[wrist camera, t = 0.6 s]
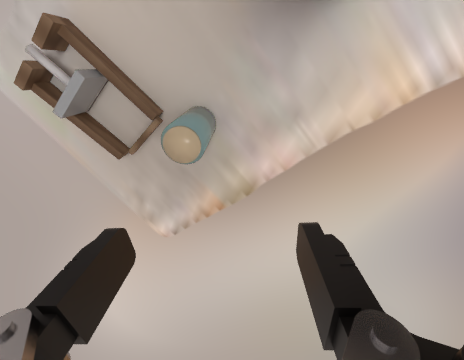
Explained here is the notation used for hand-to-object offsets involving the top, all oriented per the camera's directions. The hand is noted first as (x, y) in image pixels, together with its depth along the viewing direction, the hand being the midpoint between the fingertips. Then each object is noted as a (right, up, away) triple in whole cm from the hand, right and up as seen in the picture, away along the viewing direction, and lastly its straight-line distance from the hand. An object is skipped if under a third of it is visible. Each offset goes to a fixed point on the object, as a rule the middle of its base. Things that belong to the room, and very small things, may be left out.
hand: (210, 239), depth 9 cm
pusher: (-21, +18, +19) cm, 33 cm away
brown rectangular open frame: (-18, +15, +21) cm, 31 cm away
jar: (-4, +12, +21) cm, 25 cm away
